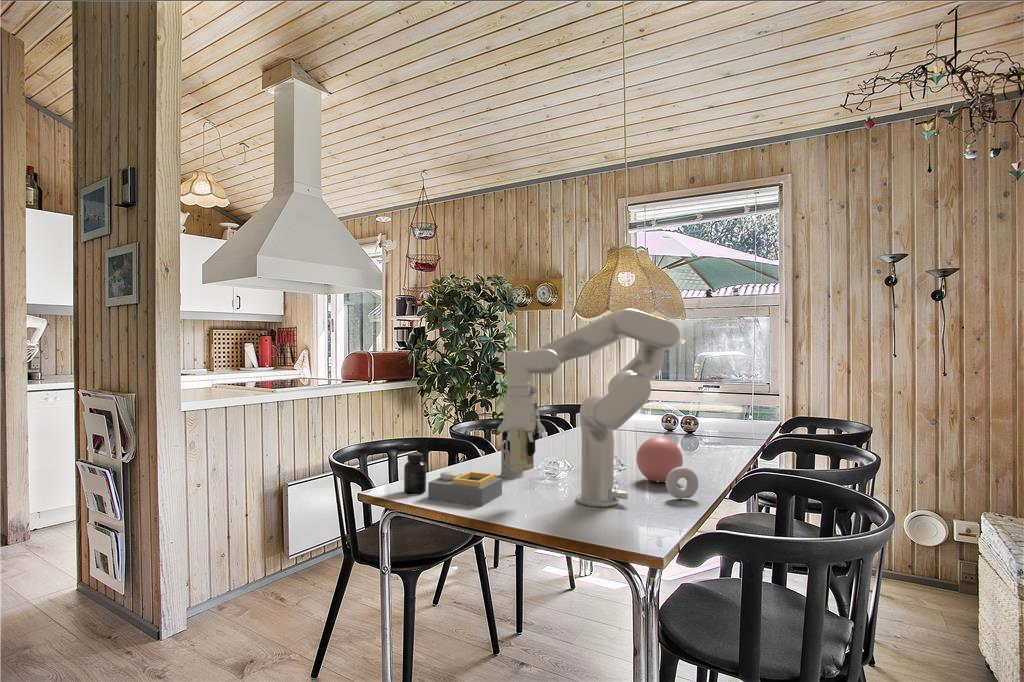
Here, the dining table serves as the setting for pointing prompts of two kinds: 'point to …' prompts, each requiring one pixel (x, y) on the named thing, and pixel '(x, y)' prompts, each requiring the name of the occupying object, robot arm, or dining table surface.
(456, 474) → the grey rectangular block
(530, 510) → the dining table surface
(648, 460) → the pink ellipsoid
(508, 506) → the dining table surface
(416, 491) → the supplement bottle
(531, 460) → the skincare box
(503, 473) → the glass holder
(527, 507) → the dining table surface
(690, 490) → the donut
